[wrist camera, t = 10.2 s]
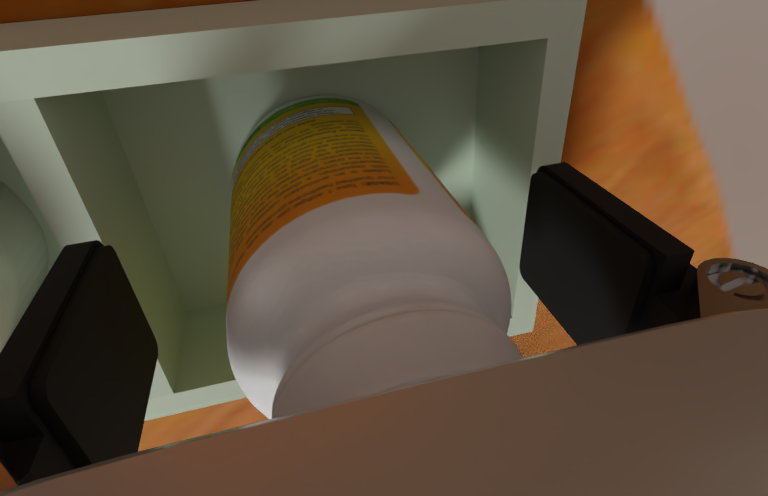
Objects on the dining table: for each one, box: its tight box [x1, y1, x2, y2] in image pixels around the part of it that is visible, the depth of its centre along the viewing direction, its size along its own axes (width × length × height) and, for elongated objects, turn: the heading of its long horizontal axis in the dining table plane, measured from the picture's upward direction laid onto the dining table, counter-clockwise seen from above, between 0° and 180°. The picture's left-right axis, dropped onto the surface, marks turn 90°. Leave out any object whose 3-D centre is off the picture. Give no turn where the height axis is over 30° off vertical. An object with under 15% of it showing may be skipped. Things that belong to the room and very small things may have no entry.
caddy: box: [0, 0, 587, 421], centre depth 12 cm, size 22×10×4 cm, turn 93°
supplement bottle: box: [226, 95, 523, 419], centre depth 10 cm, size 5×5×10 cm
